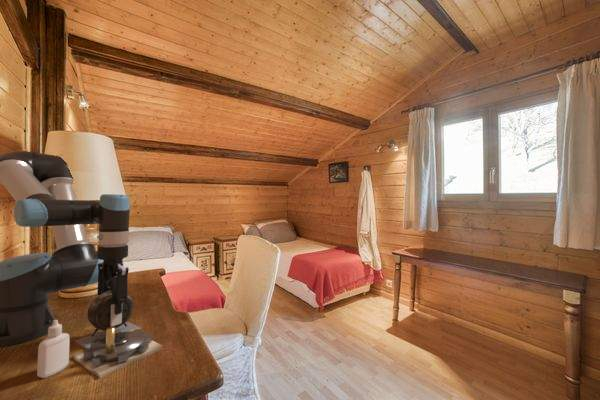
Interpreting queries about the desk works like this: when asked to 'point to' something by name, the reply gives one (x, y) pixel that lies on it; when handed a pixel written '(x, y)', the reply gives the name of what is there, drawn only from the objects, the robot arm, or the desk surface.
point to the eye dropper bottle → (53, 351)
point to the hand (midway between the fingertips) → (110, 321)
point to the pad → (104, 335)
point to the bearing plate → (114, 365)
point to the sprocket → (117, 346)
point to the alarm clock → (107, 311)
